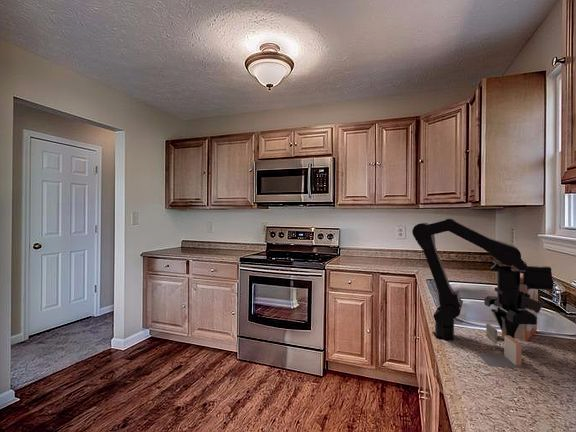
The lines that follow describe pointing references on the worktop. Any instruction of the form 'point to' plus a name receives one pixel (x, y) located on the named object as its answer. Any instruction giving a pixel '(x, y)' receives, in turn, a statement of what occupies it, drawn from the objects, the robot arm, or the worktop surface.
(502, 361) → the slate mat
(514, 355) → the glazed tile
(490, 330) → the walnut turner
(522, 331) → the cracker box
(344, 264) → the worktop surface
